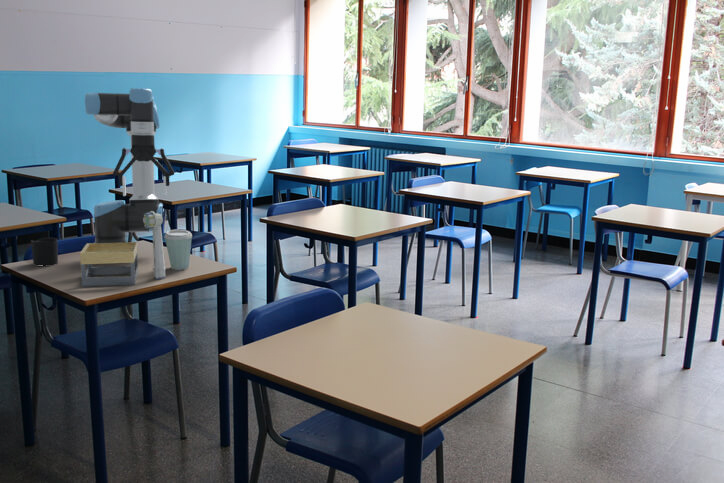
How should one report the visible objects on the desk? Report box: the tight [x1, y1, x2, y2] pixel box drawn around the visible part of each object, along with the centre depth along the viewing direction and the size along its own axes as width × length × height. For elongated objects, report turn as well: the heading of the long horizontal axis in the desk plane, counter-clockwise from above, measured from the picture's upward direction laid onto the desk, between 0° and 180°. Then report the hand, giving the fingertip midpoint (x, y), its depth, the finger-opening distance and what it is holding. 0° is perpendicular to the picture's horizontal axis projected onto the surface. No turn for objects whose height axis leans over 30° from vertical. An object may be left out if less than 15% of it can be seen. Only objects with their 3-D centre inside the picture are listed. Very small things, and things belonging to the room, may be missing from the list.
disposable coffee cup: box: [163, 229, 193, 271], centre depth 260 cm, size 11×11×15 cm
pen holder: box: [30, 237, 59, 267], centre depth 263 cm, size 9×9×10 cm
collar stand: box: [79, 241, 139, 288], centre depth 242 cm, size 18×18×12 cm
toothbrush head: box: [143, 211, 167, 280], centre depth 244 cm, size 5×7×25 cm
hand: (145, 195), depth 234 cm, fingers open, 13 cm apart
